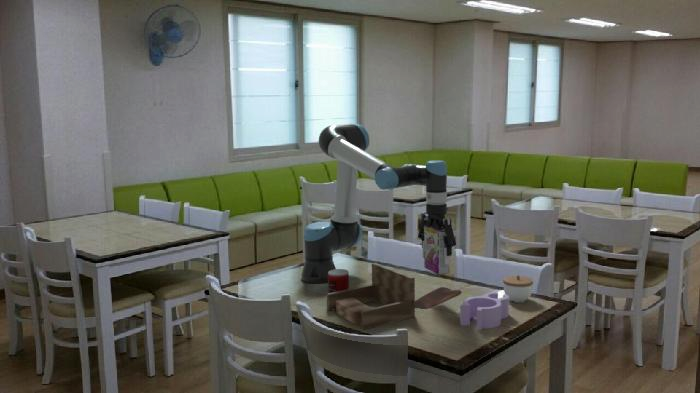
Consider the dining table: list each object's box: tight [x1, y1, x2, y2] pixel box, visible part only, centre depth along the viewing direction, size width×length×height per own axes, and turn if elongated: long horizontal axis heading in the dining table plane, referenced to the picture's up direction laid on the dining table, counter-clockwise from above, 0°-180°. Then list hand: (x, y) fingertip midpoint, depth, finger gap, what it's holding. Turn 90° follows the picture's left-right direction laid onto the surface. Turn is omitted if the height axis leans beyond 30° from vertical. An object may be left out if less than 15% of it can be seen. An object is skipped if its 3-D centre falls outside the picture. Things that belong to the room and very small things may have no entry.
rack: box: [326, 262, 416, 330], centre depth 225 cm, size 24×21×14 cm
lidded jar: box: [502, 274, 534, 303], centre depth 236 cm, size 11×11×9 cm
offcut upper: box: [336, 298, 372, 320], centre depth 222 cm, size 14×7×2 cm, turn 28°
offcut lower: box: [336, 309, 361, 326], centre depth 223 cm, size 14×7×2 cm, turn 28°
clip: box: [459, 291, 510, 331], centre depth 217 cm, size 20×12×7 cm, turn 136°
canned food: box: [327, 268, 350, 293], centre depth 241 cm, size 8×8×11 cm
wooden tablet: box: [415, 286, 462, 310], centre depth 241 cm, size 26×2×10 cm
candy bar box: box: [423, 225, 450, 275], centre depth 236 cm, size 11×5×16 cm, turn 22°
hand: (436, 260), depth 237 cm, fingers closed on candy bar box, 12 cm apart
